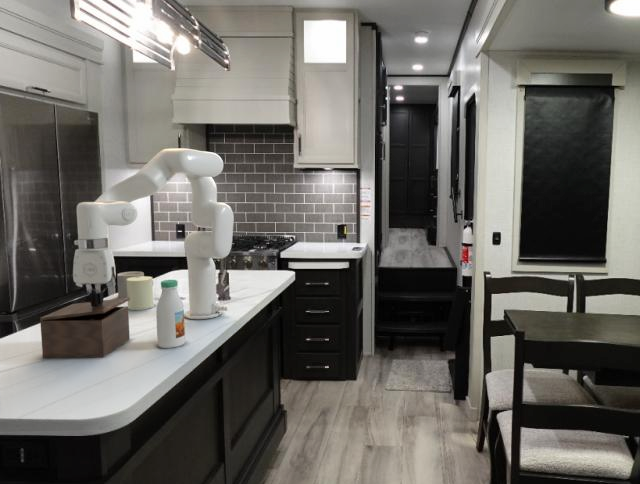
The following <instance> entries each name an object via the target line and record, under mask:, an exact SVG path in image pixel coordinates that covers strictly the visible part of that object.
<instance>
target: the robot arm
mask: <svg viewBox="0 0 640 484" xmlns="http://www.w3.org/2000/svg"><path fill="white" fill-rule="evenodd" d="M223 170H224V161H223V159H222V158H221V156H220V155H219V154H217V153H216V152H211V151H203V150H198V149H192V148H183V147H182V148H164V149H161V150H160V151H159V152H157V153H156V154H155V155H154V156H152V158H151V159H150V160H149V161H148V162H147V163H145V165H144V166H142V167H141V169H139V170H138V171H137V172H136V173H134V174H133V175H131V176H128V177H127V178H125V179H123V180H122V181H119V182H118V183H116V184H114V185H112V186H111V187H109V188H107V190H105V191H104V192H103V193H102V194H101V195H99V196H98V198H97V199H95V200H94V201H82V202H79V203H78V204H77V205H76V222H77V223H76V225H77V239H75V240H74V241H73V244H74V245H75V246H77V249H75V251H74V256H73V263H72V265H73V267H72V278H73V279H72V280H73V282H74V283H75V286H77V287H80V288H83V289H84V290H86V292H87V294H89V302H90V303H91V307H94V306H95V307H98V306H100V305H102V303H103V300H104V292H105V291H106V289H107V288H110V287H113V286H116V278H117V275H116V274H117V273H116V272H117V271H116V263H115V258H114V253H113V250H112V248H111V247H110V244H109V226H120V227H124V226H129V225H131V224H133V223H134V222H135V221H136V220H137V218H138V210H137V207H136V206H135V205H134V204H132V203H133V202H134V201H137V200H140V199H144V198H148V197H151V196H153V195H155V194H157V193H159V192H160V191H161V190H162V189H163V187H165V186H166V185H167V183H169V182H170V181H171V180H172V179H173V178H174V177H175V176H176V175H184V176H185V177H186V178H187V180H188V182H189V184H190V185H191V206H190V221H191V223H192V224H193V225H194V226H195V227H198V228H204V229H211V231H205V230H194V231H191V232H190V233H188V234H187V235H186V237H185V238H184V242H183V248H184V252H185V256H186V262H187V274H188V275H187V276H188V278H187V279H188V305H189V306H188V308H189V310H188V311H186V312H184V318H186V319H190V320H207V319H212V318H213V319H214V318H216V317H219V316H221V315H222V312H228V311H229V306H228V305H227V304H220V301H219V300H218V299H217V270H216V264H215V261H214V259H216V260H217V259H218V260H220V259H221V260H222V259H225V258H227V257H228V256H229V254H230V253H231V250H232V246H233V235H234V225H235V224H234V221H235V215H234V212H233V209H232V208H231V206H230V205H228V204H227V203H225V202H218V188H217V184H216V182H215V180H214V177H215V178H216V177H217V176H219V175H221V174H222V172H223Z"/></svg>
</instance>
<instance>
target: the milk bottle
mask: <svg viewBox="0 0 640 484" xmlns="http://www.w3.org/2000/svg"><path fill="white" fill-rule="evenodd" d="M160 289H161V292H160V293H161V294H160V297H159V299H158V301H157V304H156V335H157V336H156V338H157V341H156V342H157V346H158V347H159V348H163V349H171V348H177V347H180V346H183V345H184V344H185V342H186V328H185V327H186V325H185V308H184V303H183V301H182V299H181V297H180V294H179V292H178V280H176V279H164V280H161V282H160Z"/></svg>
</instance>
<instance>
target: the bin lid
mask: <svg viewBox="0 0 640 484" xmlns="http://www.w3.org/2000/svg"><path fill="white" fill-rule="evenodd" d="M128 300H130V297H128V298H120V299H119V298H112V299H103V303H102V305H100V306H98V307H95V306H94V307H91V303H90V301H87V302H79V303H72V304H70V305H67V306H65V307H62V308H59V309H58V310H55V311H53V312H51V313H48V314H46V315H44V316H41V317H39V320H40V321H42V320H50V319H59V318H67V317H75V316H84V315H92V314H100V313H105V312H107V311H109V310H111V309H113V308H115V307H120V306H121V305H123V304H125V303H126V302H128ZM40 321H39V322H40Z"/></svg>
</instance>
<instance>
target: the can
mask: <svg viewBox="0 0 640 484" xmlns="http://www.w3.org/2000/svg"><path fill="white" fill-rule="evenodd" d="M127 293H128V297H130V300H128V301H127V307H128V311H129V310H130V311H143V310H148V309H153V307H155V304H154V279H153V276H150V275H149V276H148V275H147V276H146V275H144V276H139V277H132V278H128V279H127Z"/></svg>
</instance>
